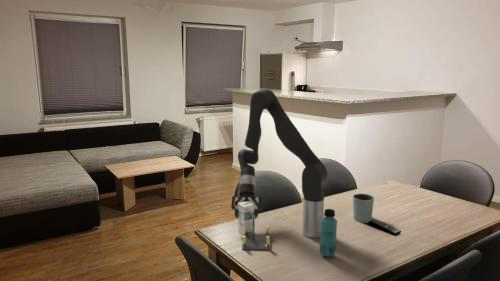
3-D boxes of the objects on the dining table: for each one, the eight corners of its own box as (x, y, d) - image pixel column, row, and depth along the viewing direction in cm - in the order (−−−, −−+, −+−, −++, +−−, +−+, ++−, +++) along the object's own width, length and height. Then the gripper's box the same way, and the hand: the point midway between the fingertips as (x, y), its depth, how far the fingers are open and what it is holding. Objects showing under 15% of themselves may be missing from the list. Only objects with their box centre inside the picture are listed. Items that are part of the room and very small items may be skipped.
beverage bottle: (317, 252, 155) (319, 207, 150) (333, 251, 155) (335, 206, 151) (321, 260, 148) (323, 213, 144) (337, 259, 149) (340, 213, 145)
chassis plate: (270, 237, 168) (270, 225, 167) (270, 250, 157) (270, 237, 155) (243, 236, 169) (243, 225, 168) (242, 249, 157) (242, 237, 156)
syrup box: (243, 236, 169) (243, 206, 166) (238, 231, 174) (237, 202, 171) (254, 233, 172) (254, 204, 169) (248, 229, 177) (248, 200, 174)
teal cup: (373, 224, 181) (375, 201, 179) (352, 222, 183) (353, 199, 181) (371, 216, 191) (372, 194, 189) (351, 214, 193) (352, 192, 191)
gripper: (232, 182, 176) (230, 214, 167) (261, 182, 176) (261, 215, 167) (233, 189, 182) (231, 220, 173) (262, 189, 182) (261, 221, 173)
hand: (246, 218), depth 170 cm, fingers open, 8 cm apart
